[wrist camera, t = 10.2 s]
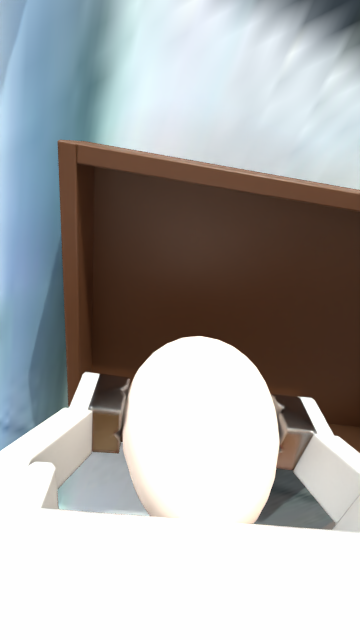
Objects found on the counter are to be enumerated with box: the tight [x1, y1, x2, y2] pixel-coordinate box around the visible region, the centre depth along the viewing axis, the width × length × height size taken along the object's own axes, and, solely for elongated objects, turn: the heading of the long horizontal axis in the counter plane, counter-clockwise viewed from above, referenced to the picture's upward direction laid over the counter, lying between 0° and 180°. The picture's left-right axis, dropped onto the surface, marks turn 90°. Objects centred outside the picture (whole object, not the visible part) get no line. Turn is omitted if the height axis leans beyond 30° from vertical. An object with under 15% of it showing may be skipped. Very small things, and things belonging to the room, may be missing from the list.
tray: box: [58, 140, 360, 453], centre depth 15 cm, size 19×14×3 cm
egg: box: [122, 336, 280, 524], centre depth 10 cm, size 5×5×7 cm
